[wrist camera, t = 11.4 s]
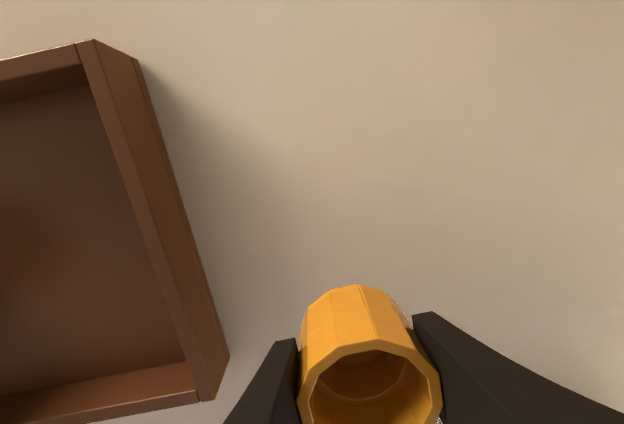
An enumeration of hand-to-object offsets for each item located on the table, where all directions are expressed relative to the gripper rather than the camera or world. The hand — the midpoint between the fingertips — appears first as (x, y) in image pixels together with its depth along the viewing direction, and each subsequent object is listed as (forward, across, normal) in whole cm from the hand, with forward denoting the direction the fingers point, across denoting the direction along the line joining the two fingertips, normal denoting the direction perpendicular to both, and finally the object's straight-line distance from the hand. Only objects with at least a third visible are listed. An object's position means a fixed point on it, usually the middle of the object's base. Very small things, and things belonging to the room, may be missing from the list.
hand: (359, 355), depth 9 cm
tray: (+5, +15, -4) cm, 16 cm away
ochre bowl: (+1, 0, 0) cm, 1 cm away
